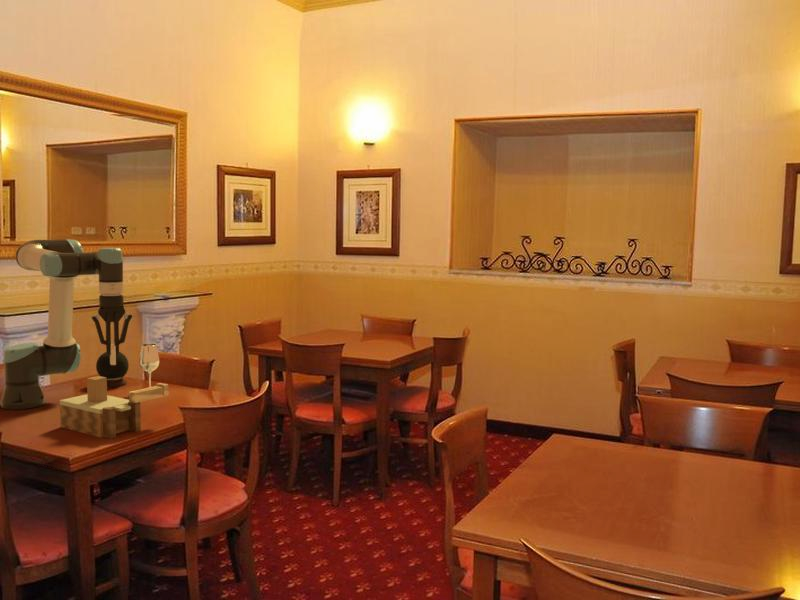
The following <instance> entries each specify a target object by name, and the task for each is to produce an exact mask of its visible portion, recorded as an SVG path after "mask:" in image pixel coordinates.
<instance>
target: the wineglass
mask: <svg viewBox="0 0 800 600" xmlns="http://www.w3.org/2000/svg"><path fill="white" fill-rule="evenodd" d="M140 348H141V349H140V354H139V366H140V369H142V370H143V371H145V372H147V374H148V388H149V387H152V384H151V383H152V382H151V379H152V372H153V371H155V370H157V368H158V367H159V365H160V357H159V356H160V355H159V351H158V347H157V344H156V343H144V344H142V345H141V347H140Z"/></svg>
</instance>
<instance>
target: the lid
mask: <svg viewBox="0 0 800 600" xmlns="http://www.w3.org/2000/svg"><path fill="white" fill-rule="evenodd" d="M86 387H87V391H86V392H87V393H85V394H82V395H78V396H73V397H69V398H68V397H67V398H64V399H59V406H60V405H64V406H68V407H73V408H77V409H81V410H85V411H90V412H94V413H98V414H102V413H103V408H105V407H111V408H115V410H116V411H125V410H129V409H131V406H128V402H129V398H128V399H126V398H122V397H118V396H113V395H108V388H107V378H106V377H101V376H100V375H95V376H91V377H90V376H89V377H87V378H86Z"/></svg>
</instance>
